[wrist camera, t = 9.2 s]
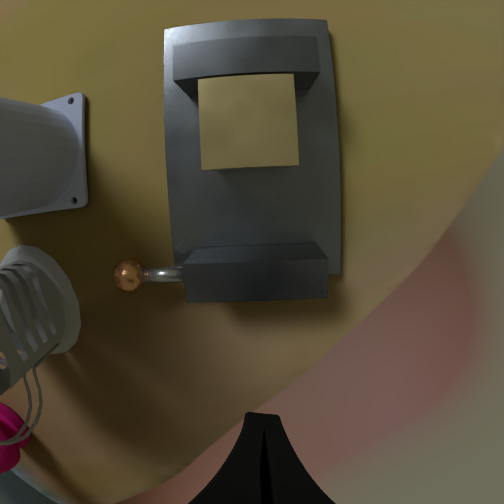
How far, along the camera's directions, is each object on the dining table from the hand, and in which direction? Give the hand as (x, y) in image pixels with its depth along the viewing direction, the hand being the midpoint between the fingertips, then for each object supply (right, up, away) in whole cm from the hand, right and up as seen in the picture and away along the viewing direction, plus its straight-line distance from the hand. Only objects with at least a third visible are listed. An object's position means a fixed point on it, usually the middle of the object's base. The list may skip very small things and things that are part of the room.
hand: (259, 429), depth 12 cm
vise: (0, +14, +6) cm, 15 cm away
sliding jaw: (-2, +7, +7) cm, 10 cm away
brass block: (0, +14, +5) cm, 15 cm away
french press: (-18, +3, +10) cm, 20 cm away
